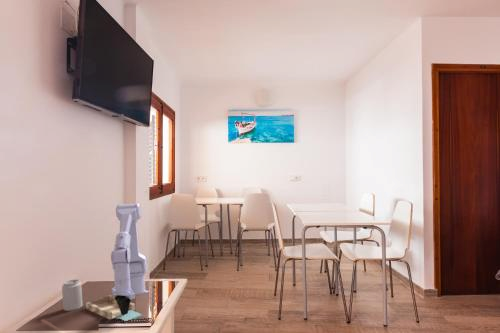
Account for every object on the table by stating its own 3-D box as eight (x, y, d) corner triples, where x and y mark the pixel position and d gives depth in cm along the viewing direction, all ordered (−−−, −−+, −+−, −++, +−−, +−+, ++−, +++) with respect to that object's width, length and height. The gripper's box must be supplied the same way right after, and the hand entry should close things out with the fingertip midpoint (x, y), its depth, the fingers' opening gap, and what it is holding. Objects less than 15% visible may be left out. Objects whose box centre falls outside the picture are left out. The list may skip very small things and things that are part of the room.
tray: (86, 310, 150) (85, 302, 150) (111, 301, 158) (110, 294, 158) (109, 321, 137) (109, 313, 137) (135, 311, 145) (134, 303, 145)
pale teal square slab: (115, 321, 138) (114, 316, 138) (131, 314, 143) (131, 309, 143) (125, 326, 133) (125, 320, 133) (142, 319, 138) (142, 314, 138)
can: (86, 306, 155) (85, 278, 155) (73, 313, 148) (71, 284, 148) (73, 305, 157) (71, 278, 158) (59, 312, 150) (57, 283, 150)
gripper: (103, 279, 142) (105, 313, 142) (122, 285, 132) (124, 321, 132) (120, 274, 147) (122, 307, 147) (139, 280, 137) (141, 315, 137)
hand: (124, 313), depth 140 cm, fingers closed, pressing on pale teal square slab
